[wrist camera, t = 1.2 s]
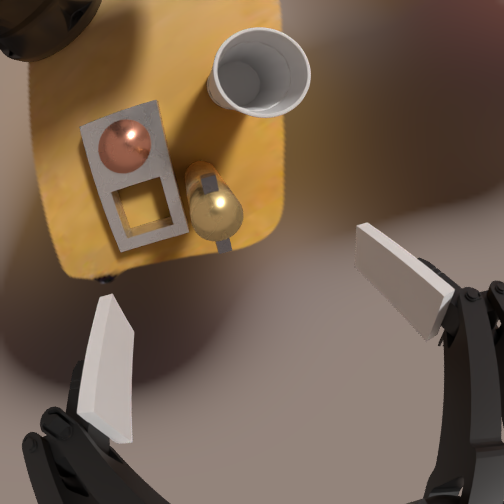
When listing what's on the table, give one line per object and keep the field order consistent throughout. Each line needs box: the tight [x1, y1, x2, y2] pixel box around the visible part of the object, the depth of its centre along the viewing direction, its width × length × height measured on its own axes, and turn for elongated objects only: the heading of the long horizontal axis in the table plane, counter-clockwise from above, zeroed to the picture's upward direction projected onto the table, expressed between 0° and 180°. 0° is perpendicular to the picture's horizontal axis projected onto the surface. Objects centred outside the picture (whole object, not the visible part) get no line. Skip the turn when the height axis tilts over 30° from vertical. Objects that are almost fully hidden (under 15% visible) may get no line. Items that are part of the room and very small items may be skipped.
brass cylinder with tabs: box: [185, 161, 243, 254], centre depth 27 cm, size 6×4×14 cm, turn 10°
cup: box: [207, 27, 311, 118], centre depth 23 cm, size 8×8×12 cm
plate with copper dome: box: [80, 100, 189, 252], centre depth 29 cm, size 16×9×3 cm, turn 9°
